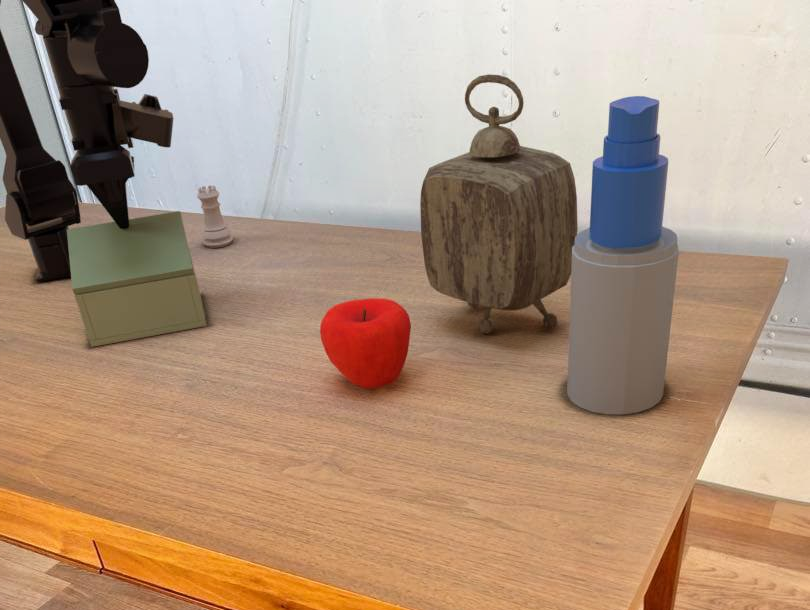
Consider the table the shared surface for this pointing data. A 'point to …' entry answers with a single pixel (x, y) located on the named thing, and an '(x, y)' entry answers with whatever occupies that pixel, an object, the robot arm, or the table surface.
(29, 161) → the robot arm
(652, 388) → the spray bottle
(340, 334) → the apple
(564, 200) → the tabletop clock
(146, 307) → the chest
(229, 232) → the rook chess piece
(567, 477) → the table surface
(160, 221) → the chest lid
